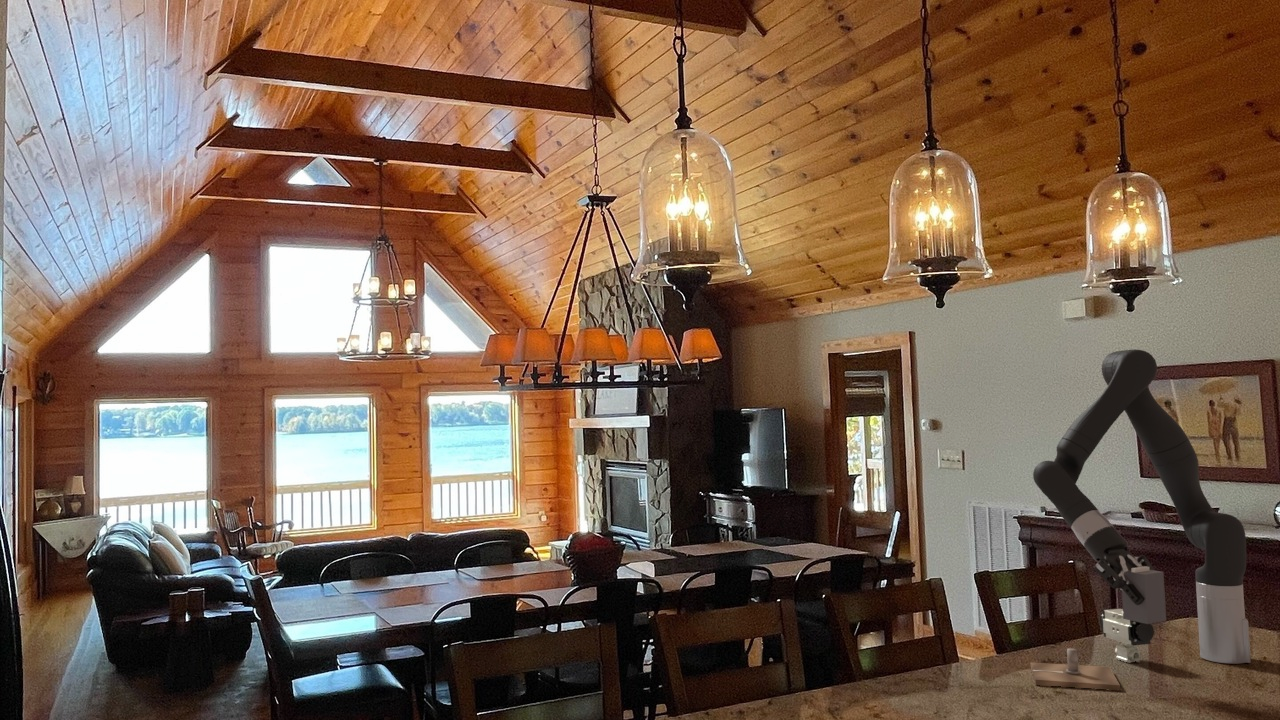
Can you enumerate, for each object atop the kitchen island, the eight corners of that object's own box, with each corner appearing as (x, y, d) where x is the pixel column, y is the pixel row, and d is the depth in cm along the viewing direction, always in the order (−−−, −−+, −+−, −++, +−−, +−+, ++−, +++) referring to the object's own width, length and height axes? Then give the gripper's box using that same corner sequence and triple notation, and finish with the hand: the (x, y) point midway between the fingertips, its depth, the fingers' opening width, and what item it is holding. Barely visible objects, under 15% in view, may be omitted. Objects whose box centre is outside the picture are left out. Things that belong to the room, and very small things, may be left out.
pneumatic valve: (1117, 653, 217) (1114, 602, 218) (1156, 666, 206) (1153, 612, 207) (1097, 656, 216) (1094, 604, 217) (1136, 669, 205) (1133, 614, 205)
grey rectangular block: (1141, 615, 195) (1138, 564, 196) (1166, 620, 190) (1163, 568, 191) (1123, 618, 193) (1120, 566, 194) (1147, 624, 188) (1144, 570, 189)
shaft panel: (1109, 672, 202) (1108, 643, 203) (1120, 691, 189) (1118, 660, 189) (1030, 667, 207) (1029, 639, 208) (1035, 685, 194) (1034, 655, 195)
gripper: (1084, 527, 197) (1138, 593, 185) (1131, 522, 203) (1186, 586, 191) (1065, 549, 201) (1116, 615, 190) (1111, 544, 207) (1164, 607, 196)
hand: (1151, 600), depth 190 cm, fingers closed on grey rectangular block, 5 cm apart
